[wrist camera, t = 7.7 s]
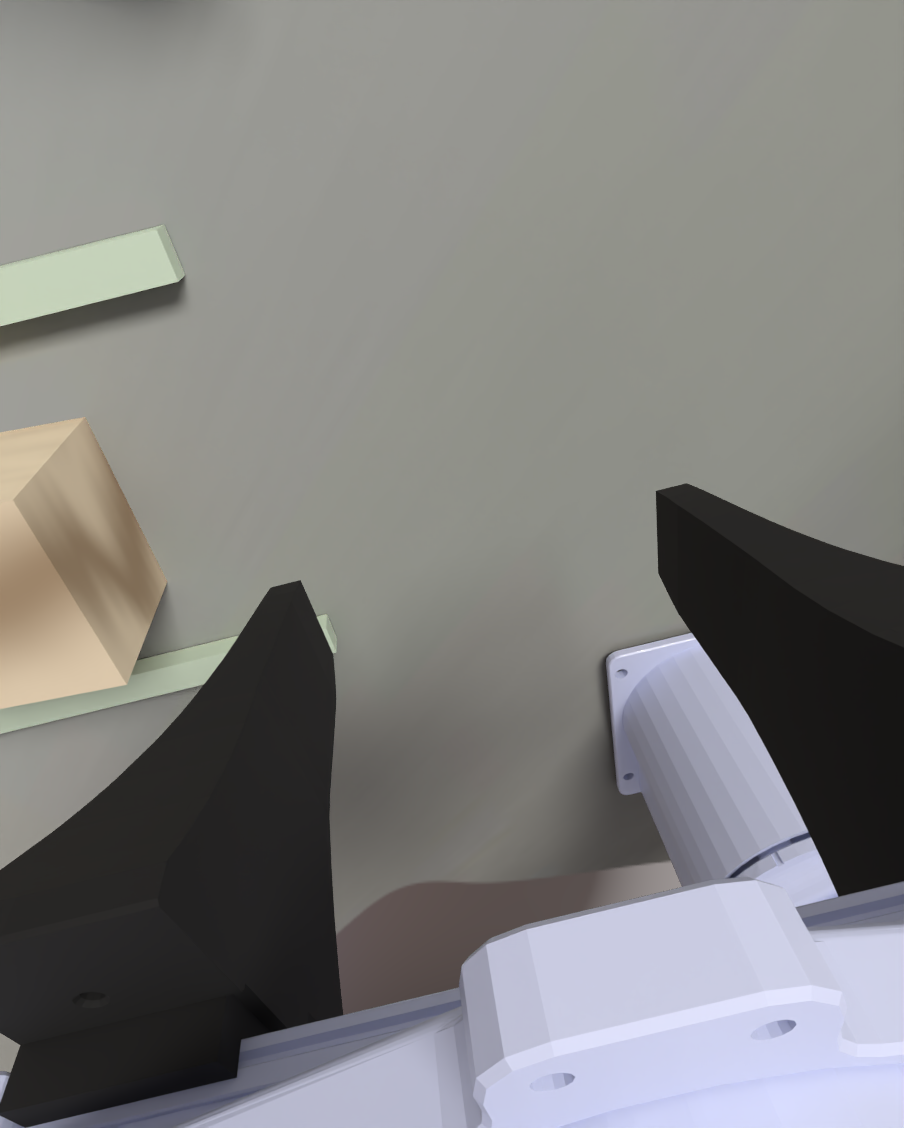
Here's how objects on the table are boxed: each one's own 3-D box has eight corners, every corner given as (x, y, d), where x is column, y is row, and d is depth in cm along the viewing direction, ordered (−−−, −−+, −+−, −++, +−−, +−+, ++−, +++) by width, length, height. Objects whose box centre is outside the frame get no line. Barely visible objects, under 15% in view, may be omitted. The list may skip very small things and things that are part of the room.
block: (168, 579, 22) (127, 684, 18) (-7, 612, 22) (-89, 725, 18) (86, 415, 19) (12, 500, 15) (-122, 453, 19) (-255, 549, 15)
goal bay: (336, 637, 24) (336, 652, 24) (-25, 725, 25) (-35, 742, 24) (164, 224, 16) (156, 229, 16) (-377, 361, 16) (-408, 371, 16)
